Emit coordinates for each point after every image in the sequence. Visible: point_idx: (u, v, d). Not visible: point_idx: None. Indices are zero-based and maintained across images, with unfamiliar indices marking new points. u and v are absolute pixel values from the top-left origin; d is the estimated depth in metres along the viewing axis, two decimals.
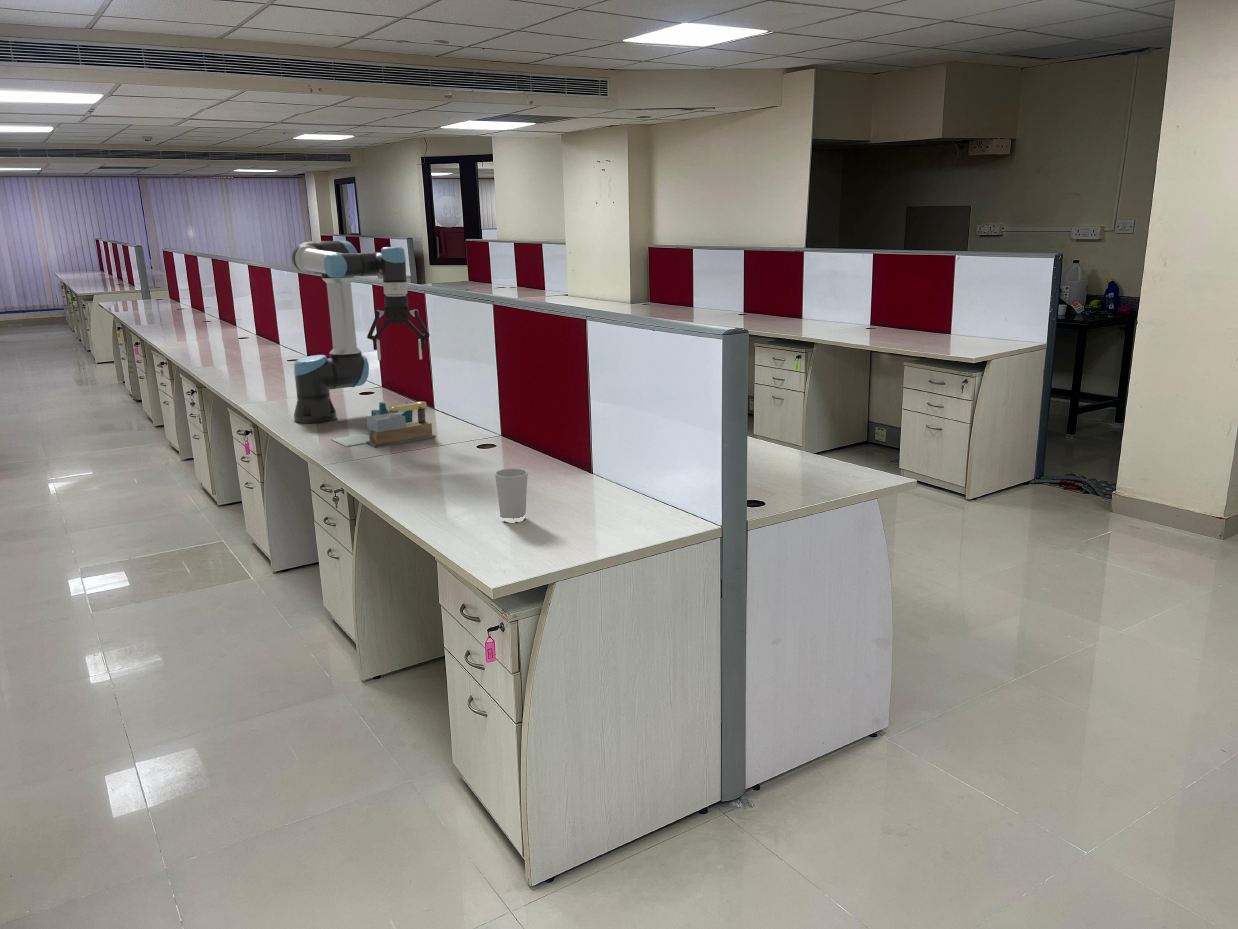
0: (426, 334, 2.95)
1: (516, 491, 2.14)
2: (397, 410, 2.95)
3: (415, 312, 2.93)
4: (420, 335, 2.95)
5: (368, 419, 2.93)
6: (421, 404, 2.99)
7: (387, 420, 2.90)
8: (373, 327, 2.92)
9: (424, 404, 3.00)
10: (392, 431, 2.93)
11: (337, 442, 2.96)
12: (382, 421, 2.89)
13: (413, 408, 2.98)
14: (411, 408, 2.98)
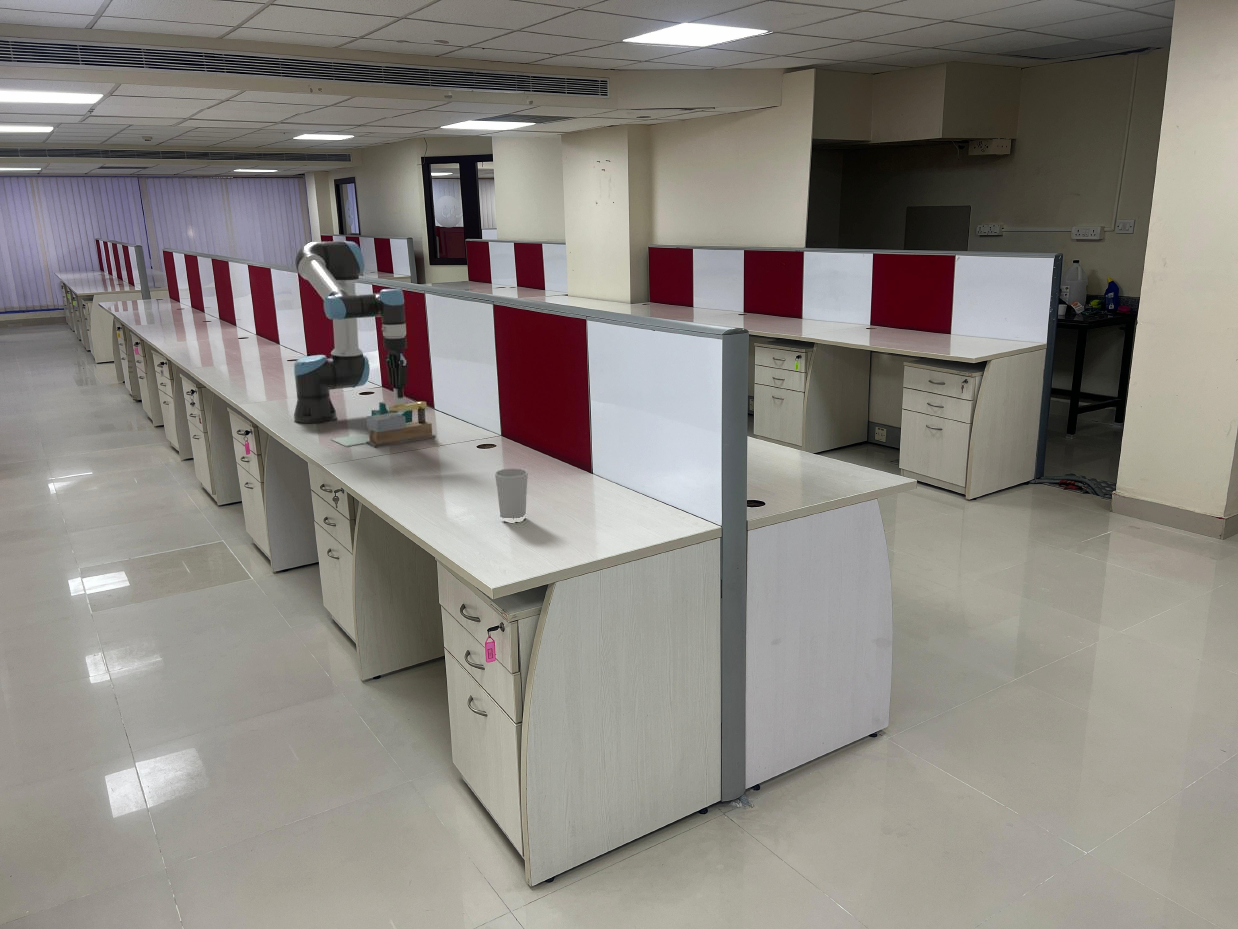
0: (398, 384, 2.93)
1: (516, 491, 2.14)
2: (397, 410, 2.95)
3: (400, 361, 2.89)
4: (396, 384, 2.94)
5: (368, 419, 2.93)
6: (421, 404, 2.99)
7: (387, 420, 2.90)
8: (388, 372, 2.97)
9: (424, 404, 3.00)
10: (392, 431, 2.93)
11: (337, 442, 2.96)
12: (382, 421, 2.89)
13: (413, 408, 2.98)
14: (411, 408, 2.98)
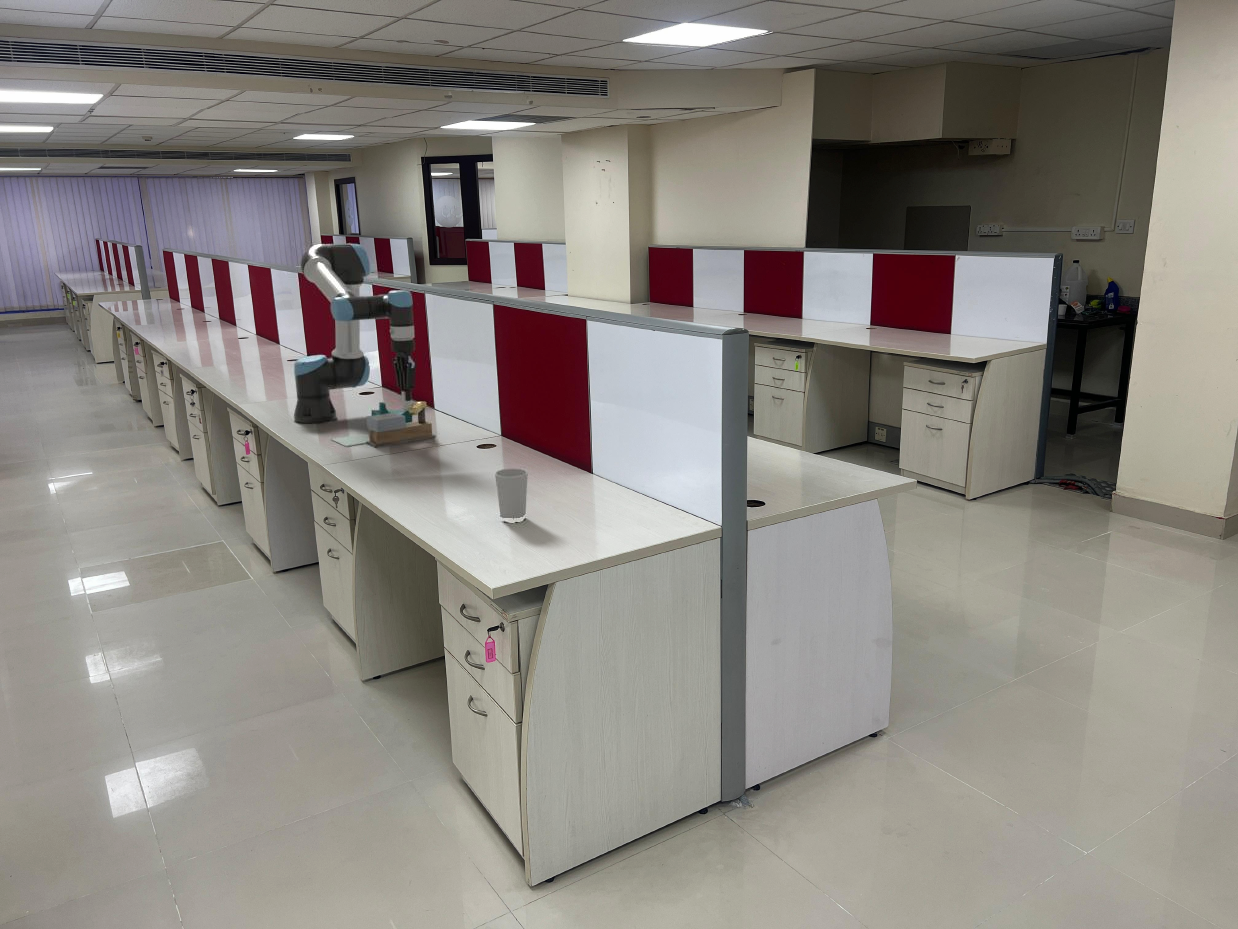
0: (406, 386, 2.89)
1: (516, 491, 2.14)
2: None
3: (408, 364, 2.85)
4: (404, 386, 2.90)
5: (368, 419, 2.93)
6: (425, 403, 3.00)
7: (387, 420, 2.90)
8: (396, 375, 2.93)
9: None
10: (392, 431, 2.93)
11: (337, 442, 2.96)
12: (382, 421, 2.89)
13: (421, 408, 2.98)
14: (420, 408, 2.97)
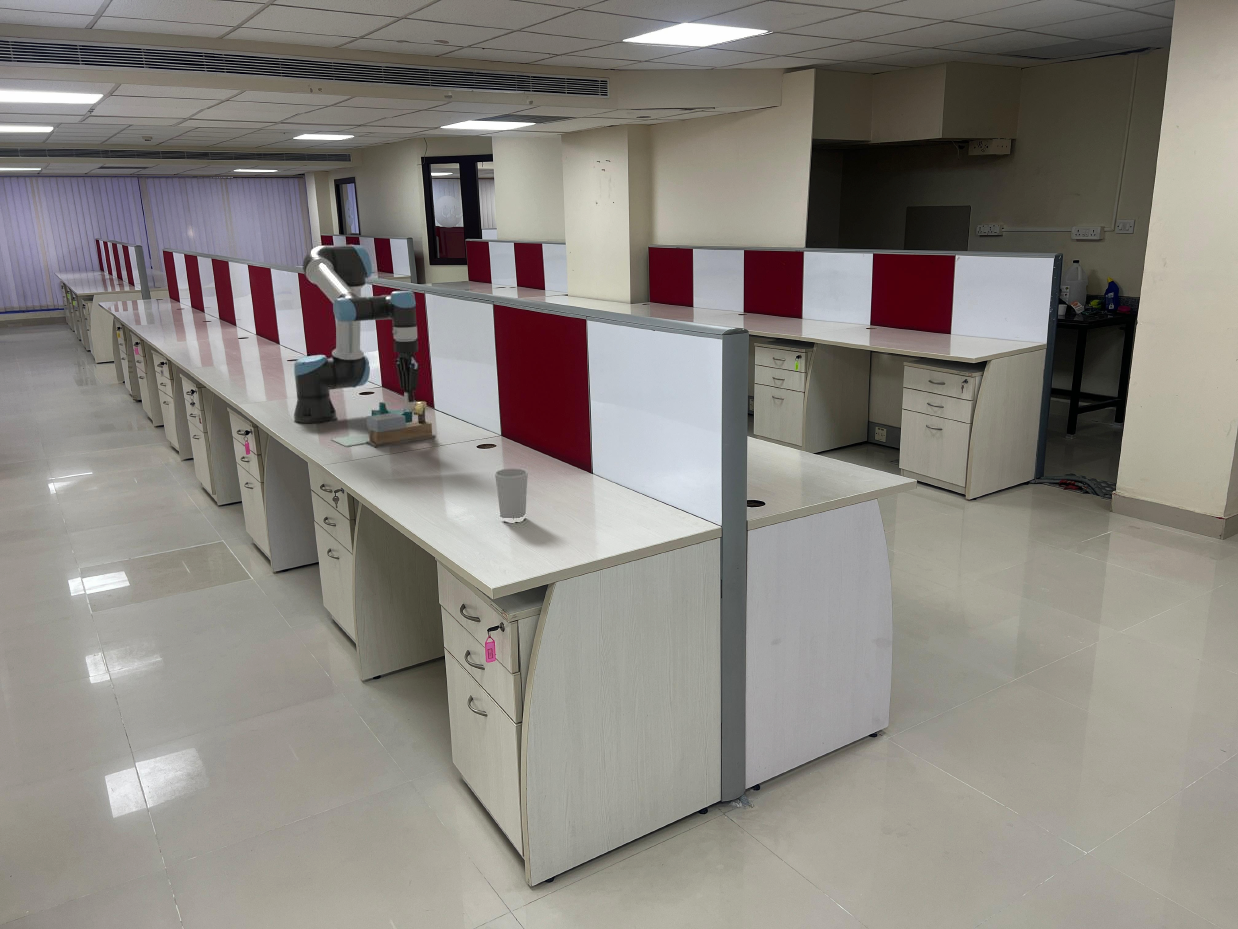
0: (409, 387, 2.87)
1: (516, 491, 2.14)
2: None
3: (411, 365, 2.83)
4: (407, 388, 2.88)
5: (368, 419, 2.93)
6: (425, 403, 3.00)
7: (387, 420, 2.90)
8: (399, 376, 2.91)
9: None
10: (392, 431, 2.93)
11: (337, 442, 2.96)
12: (382, 421, 2.89)
13: None
14: (422, 408, 2.97)
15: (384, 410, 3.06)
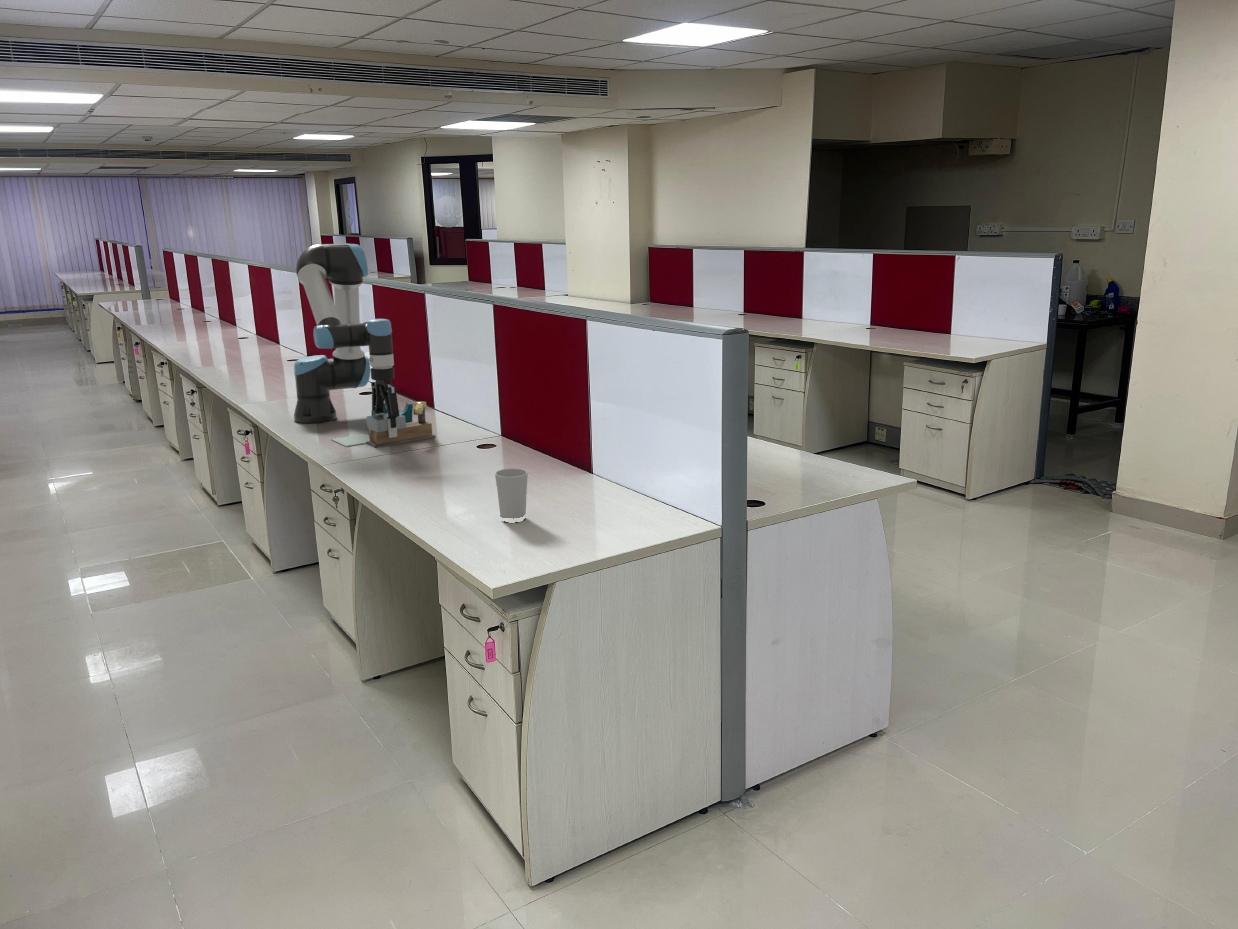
0: (391, 414, 2.87)
1: (516, 491, 2.14)
2: None
3: (388, 389, 2.86)
4: (388, 413, 2.89)
5: (368, 419, 2.93)
6: (425, 403, 3.00)
7: (387, 420, 2.90)
8: (372, 399, 2.96)
9: None
10: None
11: (337, 442, 2.96)
12: (382, 421, 2.89)
13: None
14: (422, 408, 2.97)
15: (384, 410, 3.06)
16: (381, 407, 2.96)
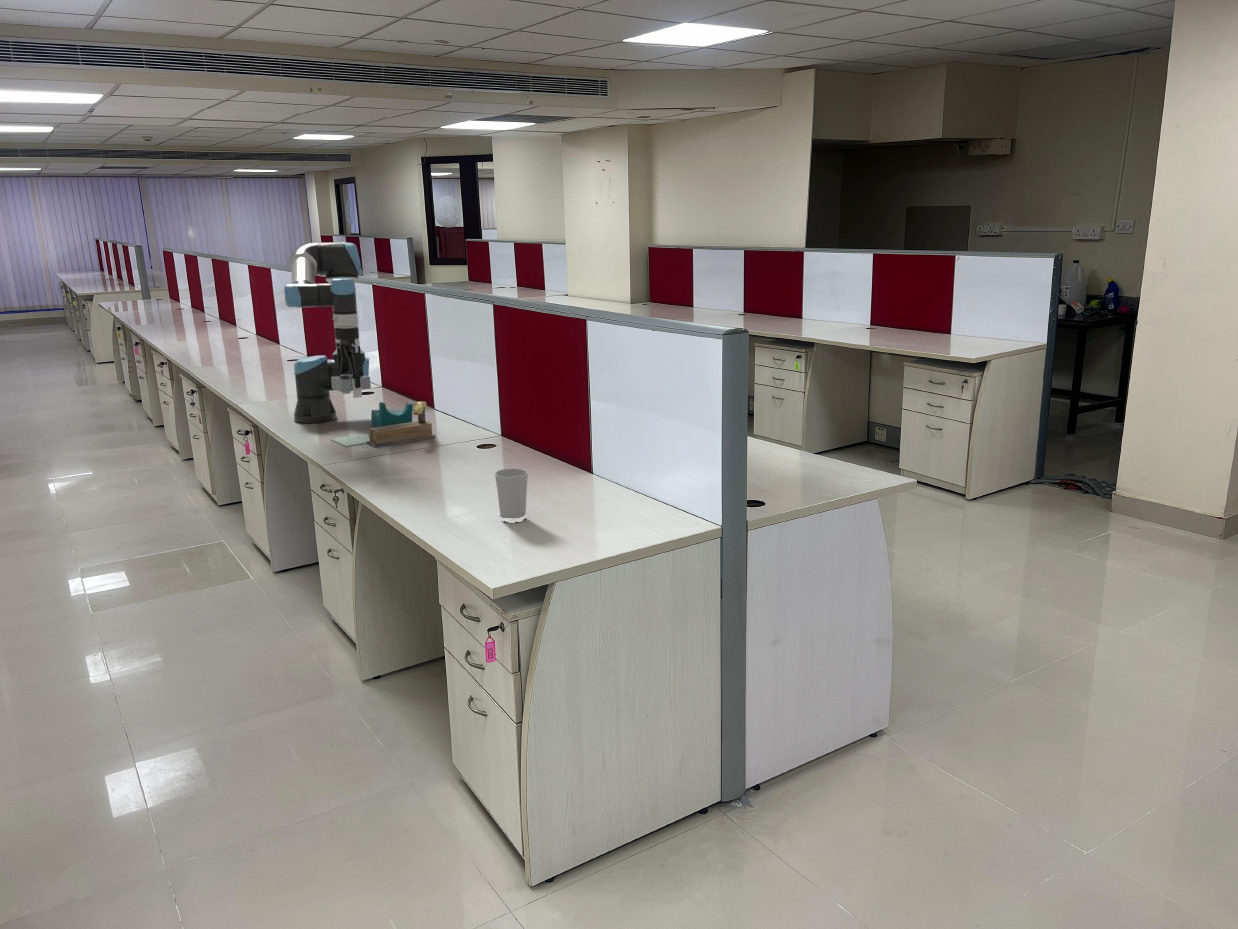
0: (355, 373, 2.86)
1: (516, 491, 2.14)
2: None
3: (352, 348, 2.85)
4: (353, 373, 2.88)
5: (332, 379, 2.92)
6: (425, 403, 3.00)
7: (351, 380, 2.89)
8: (337, 360, 2.95)
9: None
10: (392, 431, 2.93)
11: (337, 442, 2.96)
12: (346, 381, 2.88)
13: None
14: (422, 408, 2.97)
15: (384, 410, 3.06)
16: (346, 368, 2.96)
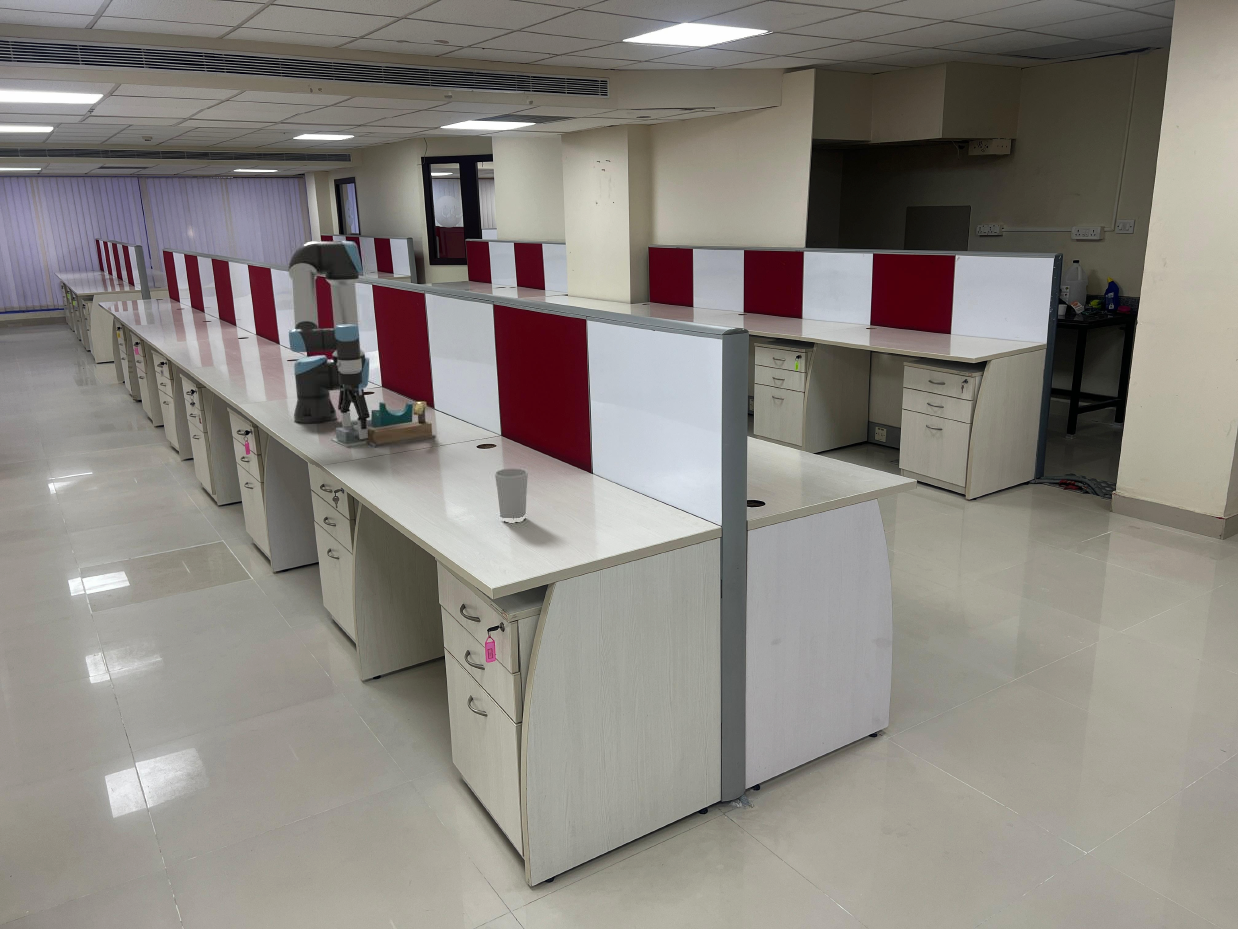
0: (361, 415, 2.88)
1: (516, 491, 2.14)
2: None
3: (355, 391, 2.89)
4: (358, 415, 2.90)
5: (337, 431, 2.96)
6: (425, 403, 3.00)
7: (355, 432, 2.94)
8: (339, 399, 3.00)
9: None
10: (392, 431, 2.93)
11: (337, 442, 2.96)
12: (350, 433, 2.93)
13: None
14: (422, 408, 2.97)
15: (384, 410, 3.06)
16: (347, 408, 3.01)
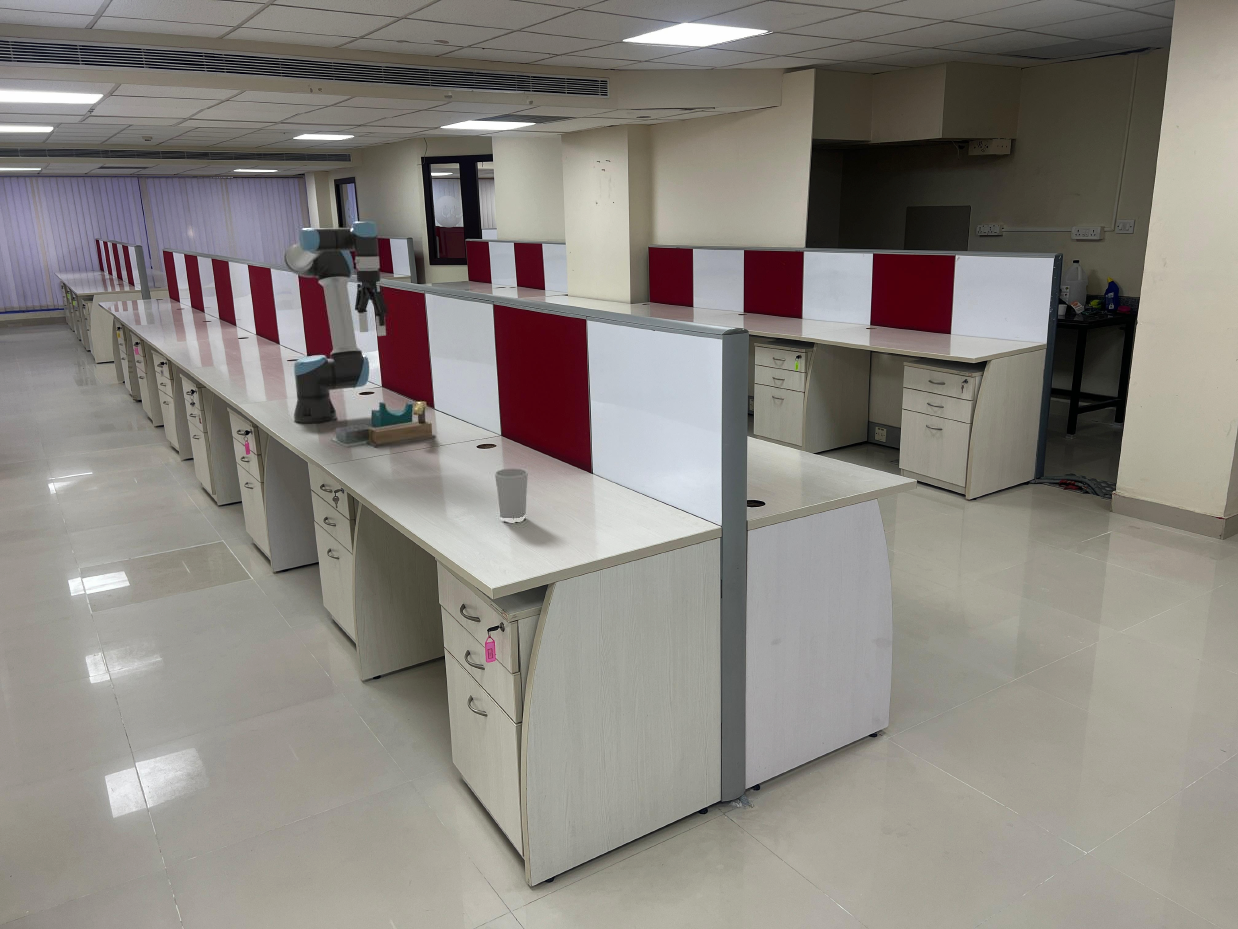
0: (379, 311, 2.90)
1: (516, 491, 2.14)
2: None
3: (373, 288, 2.90)
4: (377, 311, 2.91)
5: (337, 431, 2.96)
6: (425, 403, 3.00)
7: (355, 432, 2.94)
8: (357, 299, 3.02)
9: None
10: (392, 431, 2.93)
11: (337, 442, 2.96)
12: (350, 433, 2.93)
13: None
14: (422, 408, 2.97)
15: (384, 410, 3.06)
16: (364, 308, 3.02)
